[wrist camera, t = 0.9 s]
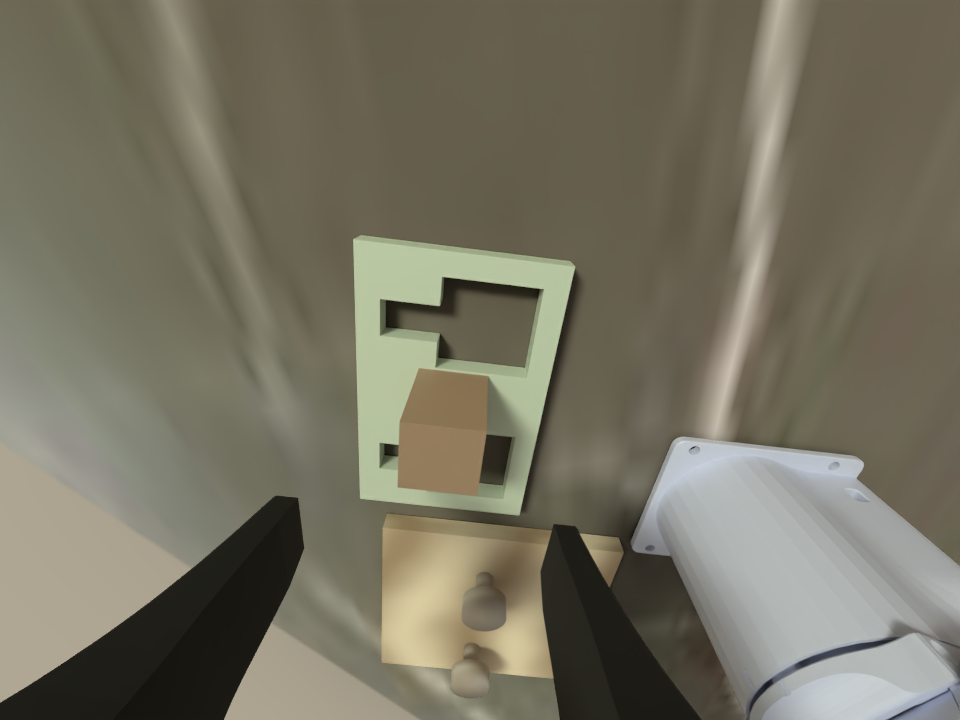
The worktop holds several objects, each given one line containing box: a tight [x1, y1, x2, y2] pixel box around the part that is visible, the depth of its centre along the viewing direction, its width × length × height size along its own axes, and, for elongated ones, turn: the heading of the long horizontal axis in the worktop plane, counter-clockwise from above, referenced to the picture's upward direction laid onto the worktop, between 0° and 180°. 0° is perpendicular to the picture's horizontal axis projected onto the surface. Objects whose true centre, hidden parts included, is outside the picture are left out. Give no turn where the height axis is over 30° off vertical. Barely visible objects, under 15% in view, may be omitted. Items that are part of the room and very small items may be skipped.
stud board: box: [382, 513, 624, 698], centre depth 24 cm, size 13×13×3 cm
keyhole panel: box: [353, 235, 575, 515], centre depth 16 cm, size 8×13×5 cm, turn 173°
